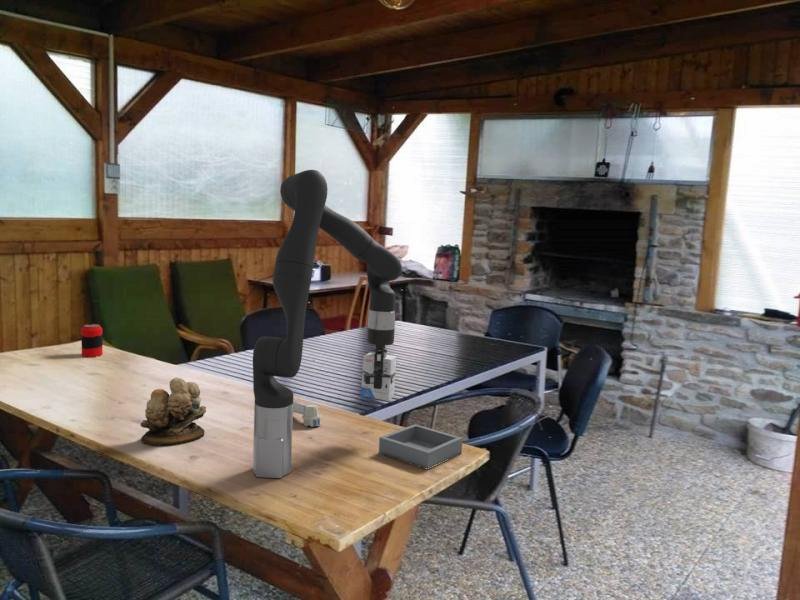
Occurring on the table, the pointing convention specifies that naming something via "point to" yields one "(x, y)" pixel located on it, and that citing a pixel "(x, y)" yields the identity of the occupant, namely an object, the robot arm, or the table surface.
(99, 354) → the soda can
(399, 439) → the walled crate
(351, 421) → the table surface
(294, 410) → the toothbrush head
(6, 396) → the table surface
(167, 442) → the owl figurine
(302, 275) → the robot arm
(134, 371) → the table surface
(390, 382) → the ink box
